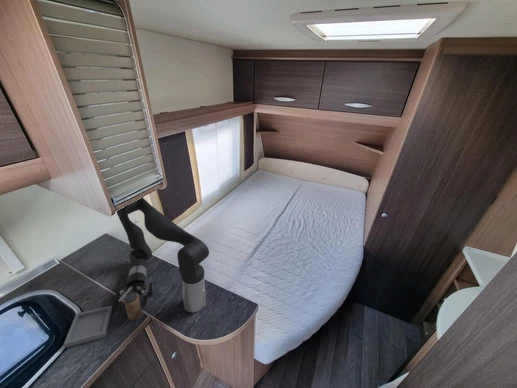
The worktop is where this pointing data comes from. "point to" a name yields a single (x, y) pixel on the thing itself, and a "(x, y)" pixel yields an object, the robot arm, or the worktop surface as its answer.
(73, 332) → the grey square tray
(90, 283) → the worktop surface
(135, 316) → the wooden cylinder
